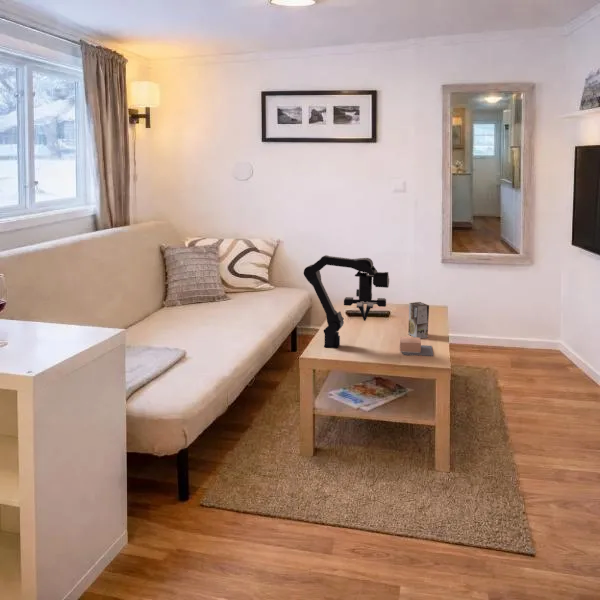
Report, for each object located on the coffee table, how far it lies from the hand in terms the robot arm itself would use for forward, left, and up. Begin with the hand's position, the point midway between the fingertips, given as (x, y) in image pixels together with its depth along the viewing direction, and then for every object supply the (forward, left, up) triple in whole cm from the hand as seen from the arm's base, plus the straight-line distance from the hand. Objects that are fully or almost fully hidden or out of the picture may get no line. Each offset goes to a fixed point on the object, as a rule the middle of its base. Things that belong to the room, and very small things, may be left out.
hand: (364, 320), depth 293 cm
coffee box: (+25, +26, -13) cm, 38 cm away
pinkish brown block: (+16, 0, -10) cm, 19 cm away
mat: (+24, 0, -13) cm, 27 cm away
